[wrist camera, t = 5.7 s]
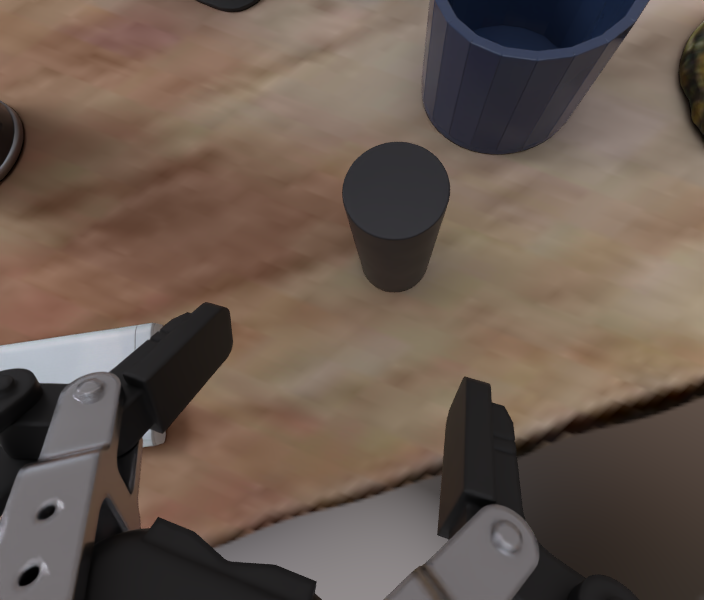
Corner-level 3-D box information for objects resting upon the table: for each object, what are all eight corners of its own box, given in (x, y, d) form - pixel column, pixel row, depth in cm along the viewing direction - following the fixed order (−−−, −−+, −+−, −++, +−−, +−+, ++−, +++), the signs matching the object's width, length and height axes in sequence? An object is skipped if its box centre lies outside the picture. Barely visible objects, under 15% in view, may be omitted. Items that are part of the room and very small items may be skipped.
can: (405, 139, 27) (410, 43, 19) (440, 17, 28) (458, -117, 21) (561, 167, 25) (639, 74, 17) (588, 35, 27) (670, -104, 19)
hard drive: (-23, 468, 24) (150, 447, 22) (-12, 346, 25) (149, 321, 24) (3, 461, 25) (167, 442, 24) (12, 347, 27) (164, 324, 26)
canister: (354, 283, 25) (329, 226, 15) (371, 223, 26) (358, 132, 16) (418, 299, 24) (435, 251, 14) (434, 237, 25) (461, 151, 15)
